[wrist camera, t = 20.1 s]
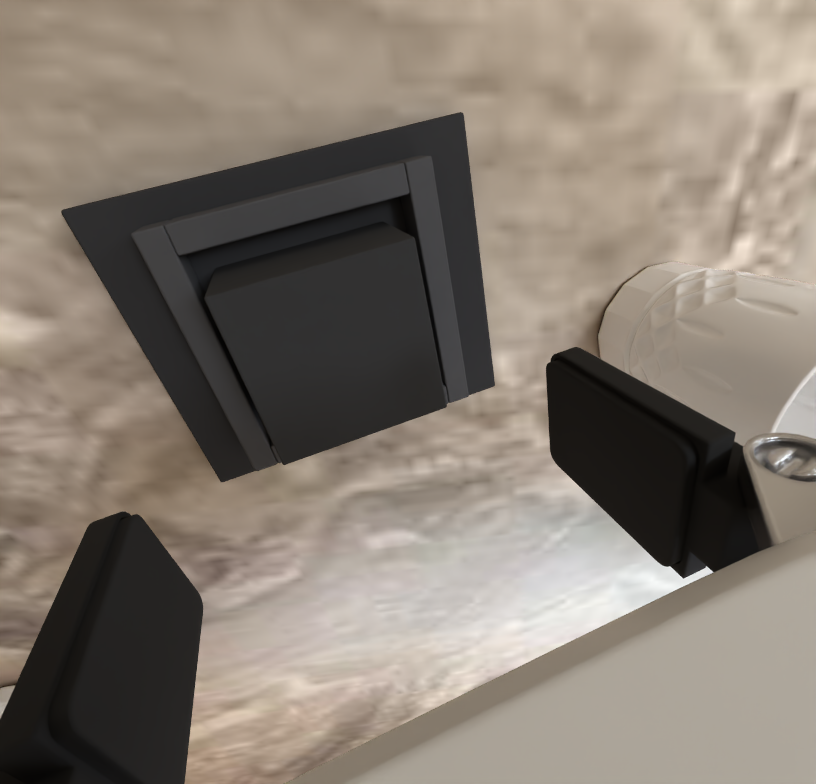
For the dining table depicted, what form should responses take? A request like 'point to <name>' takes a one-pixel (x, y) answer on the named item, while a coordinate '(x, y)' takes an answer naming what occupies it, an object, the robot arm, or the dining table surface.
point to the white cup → (720, 344)
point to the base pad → (278, 229)
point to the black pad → (331, 337)
